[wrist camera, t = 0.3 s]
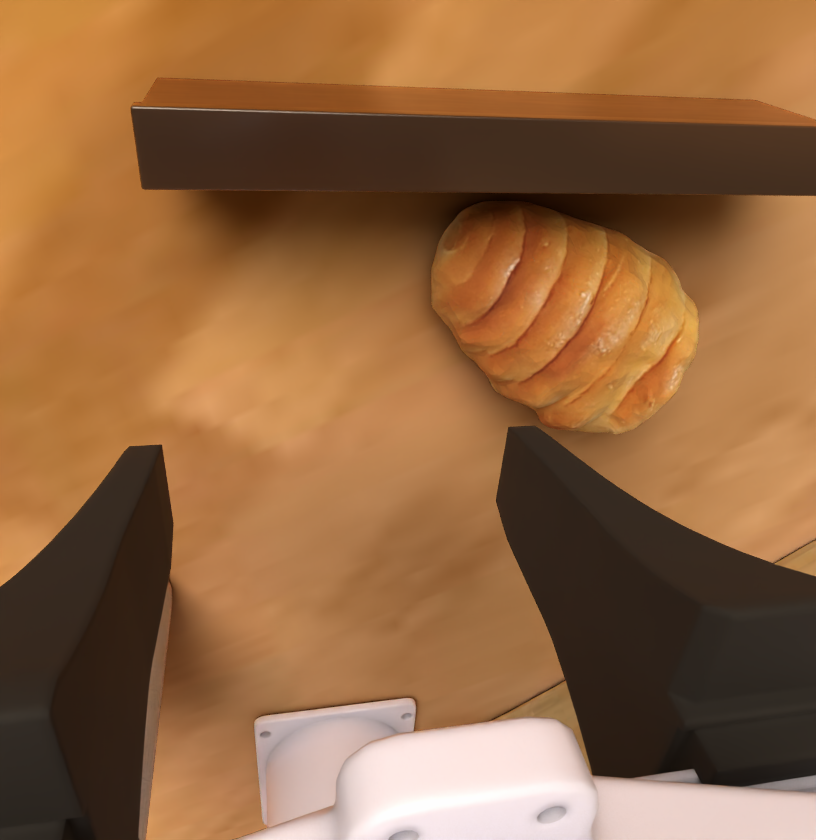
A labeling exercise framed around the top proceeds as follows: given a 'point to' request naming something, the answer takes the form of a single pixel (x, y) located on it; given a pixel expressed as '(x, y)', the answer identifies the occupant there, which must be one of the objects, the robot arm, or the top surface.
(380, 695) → the top surface
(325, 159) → the wall shelf
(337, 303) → the top surface
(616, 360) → the pastry
